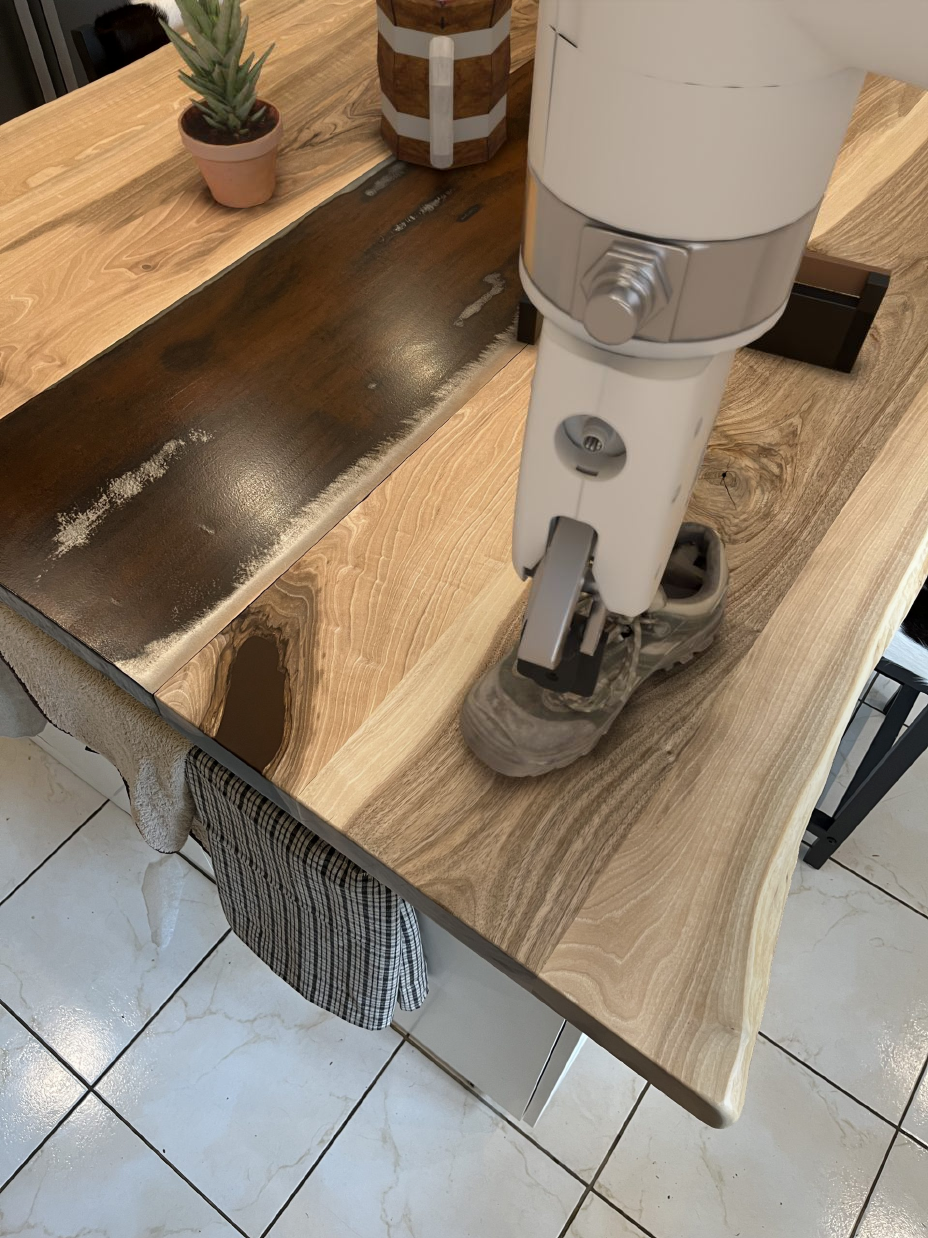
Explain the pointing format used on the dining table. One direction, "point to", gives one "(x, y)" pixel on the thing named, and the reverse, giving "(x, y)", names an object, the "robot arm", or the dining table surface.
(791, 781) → the dining table surface
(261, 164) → the potted plant
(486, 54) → the mug
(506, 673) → the hiking shoe
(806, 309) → the shoe rack
